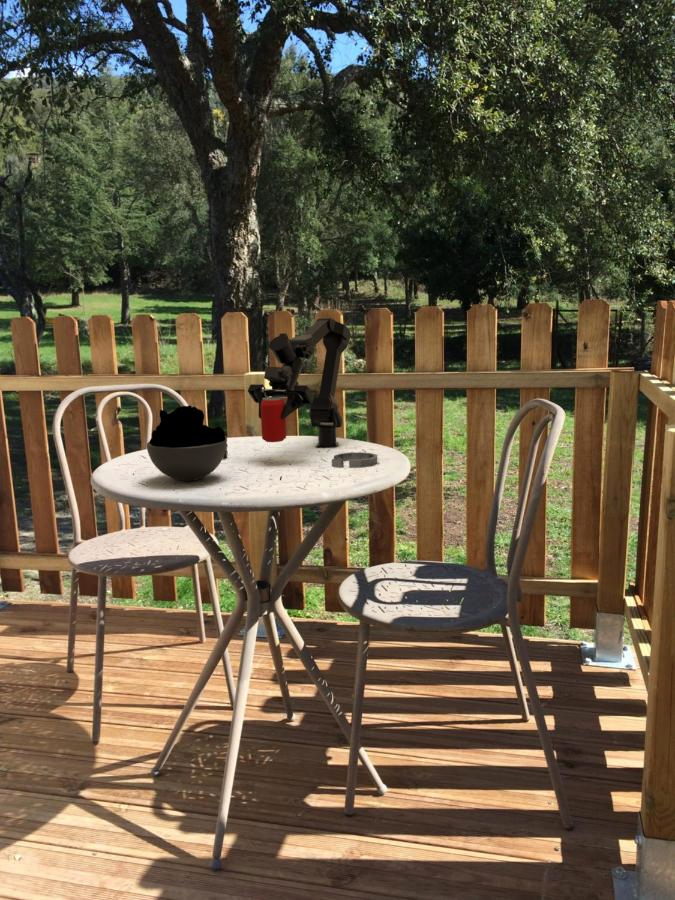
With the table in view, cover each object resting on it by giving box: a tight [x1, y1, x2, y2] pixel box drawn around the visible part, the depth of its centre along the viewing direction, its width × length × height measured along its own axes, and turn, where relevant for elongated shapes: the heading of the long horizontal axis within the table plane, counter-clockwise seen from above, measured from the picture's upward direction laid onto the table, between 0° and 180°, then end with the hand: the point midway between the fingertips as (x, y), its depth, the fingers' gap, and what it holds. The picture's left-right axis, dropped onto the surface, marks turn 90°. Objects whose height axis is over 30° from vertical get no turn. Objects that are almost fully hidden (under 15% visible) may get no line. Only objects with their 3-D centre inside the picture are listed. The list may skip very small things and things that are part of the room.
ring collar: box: [331, 451, 378, 469], centre depth 211 cm, size 12×12×2 cm
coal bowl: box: [146, 405, 228, 482], centre depth 192 cm, size 20×20×19 cm
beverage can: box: [260, 397, 287, 443], centre depth 210 cm, size 7×7×12 cm
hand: (270, 418), depth 208 cm, fingers closed on beverage can, 7 cm apart
